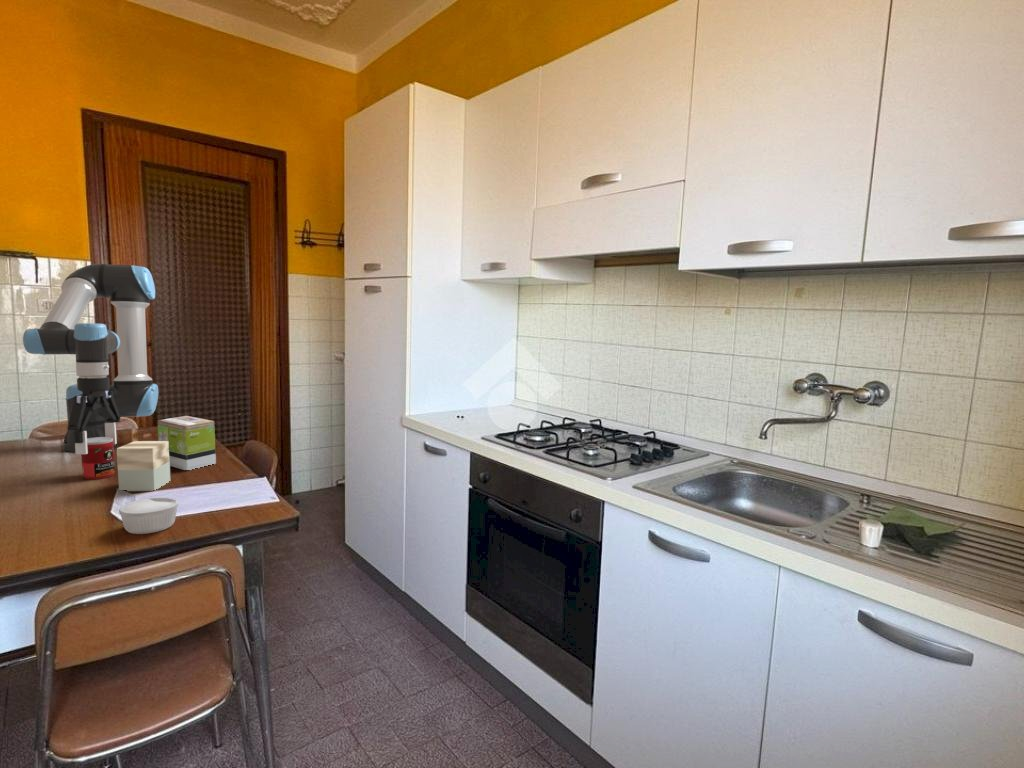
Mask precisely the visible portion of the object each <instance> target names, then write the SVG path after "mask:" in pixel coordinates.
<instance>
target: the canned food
mask: <svg viewBox="0 0 1024 768" xmlns="http://www.w3.org/2000/svg"><path fill="white" fill-rule="evenodd" d="M114 448H115V446H114V444H113V438H111V437H95V438H88V439H87V449H88V454H80V456H81V469H82V470H81V471H82V477H83V478H84V479H85V480H102V479H107V478H108V479H109V478H111V477H113V476H114V475H115V473H116V472H115V471H116V467H115V464H116V463H115V449H114Z"/></svg>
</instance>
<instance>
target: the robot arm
mask: <svg viewBox="0 0 1024 768" xmlns="http://www.w3.org/2000/svg"><path fill="white" fill-rule="evenodd" d="M60 290H61V293H60V294H59V296H58V297H57V299H56V301H55V303H54V304H53V306H52V308H51V309H50V311H49V313H48V315H47V316H46V318H45V320H44V321H43V322H42V324H41V326H40V327H39V328H37V327H34V328H28V329H25V330H24V332H23V336H22V343H23V347H24V350H25V351H26V352H27V353H28V354H31V355H42V356H45V355H75V369H76V371H75V373H76V376H77V377H78V378H76V383H75V384H71V385H69V386H68V387H67V388H66V389H65V390H66V391H65V401H66V403H65V404H66V414H67V415H66V417H67V428H66V429H67V430H66V433H65V436H64V438H63V441H62V450H63V451H64V450H65V452H69V451H70V452H71V453H72V452H73V453H75V455H81V454H88V449H87V439H88V438H95V437H111V438H113V444H114V447H116V446H117V445H118V443H117V442H118V441H117V423H119V422H120V421H121V418H133V417H135V418H140V417H148V416H151V415H153V414H154V412H155V411H156V409H157V405H158V401H159V400H158V399H159V386H158V384H156V383H154V382H153V378H152V377H151V376H149V375H148V359H147V355H148V354H147V352H148V351H147V330H146V329H147V327H146V322H147V321H146V309H147V308H148V307H149V306H151V301H152V300H155V299H156V286H155V282H154V279H153V276H152V273H151V271H150V270H149V269H148V268H147V267H145V266H139V265H134V264H133V265H132V264H129V265H128V264H108V263H107V264H105V263H93V264H89V265H85V266H82V267H80V268H78V269H76V270H75V271H73V272H72V273H70V274H69V275H68V276H67V277H66V278H65V279H64V280H63V282H62V284H61V288H60ZM96 298H106V299H108V298H110V304H112V306H114V307H115V310H116V311H115V314H116V315H115V316H116V332H114V331H112V330H109V329H107V325H106V324H104V323H95V322H94V323H93V322H92V323H88V322H87V323H85V322H84V323H83V322H80V319H81V318H82V316H83V314H84V312H85V311H86V308H87V306H88V305H89V303H92V302H93V301H94V300H95V299H96ZM116 351H117V364H118V365H117V366H118V367H117V368H118V369H117V371H118V375H117V376H116V377H115V378H114V379H113V384H111V382H110V378H109V374H110V372H109V370H110V369H109V368H110V365H109V355H110V354H113V353H114V352H116ZM116 444H117V445H116Z"/></svg>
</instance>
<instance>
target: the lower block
mask: <svg viewBox="0 0 1024 768" xmlns="http://www.w3.org/2000/svg"><path fill="white" fill-rule="evenodd" d="M117 475H118V476H117V477H118V491H119V490H127V491H126V492H154V491H153V490H155V491H157V490H158V489H161V488H162V487H163V486H165V485H167V484H168V483H170V482H171V466H170V462H167V463H166V464H164V465H162V466H160V467H158V468H156V469H154V470H118V469H117ZM169 481H170V482H169ZM166 483H167V484H166ZM161 486H162V487H161ZM156 489H157V490H156Z"/></svg>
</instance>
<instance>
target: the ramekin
mask: <svg viewBox="0 0 1024 768" xmlns="http://www.w3.org/2000/svg"><path fill="white" fill-rule="evenodd" d="M178 508H179V501H178V500H177V499H175V498H169V497H151V498H150V497H149V498H144V499H139V500H134V501H131V502H128V503H125V504H123V505H121V507H119V509H118V513H119V515H120V517H121V521H122V524H123V528H124V529H125V531H127V532H128V533H130V534H134V535H143V534H145V535H147V534H151V533H152V534H153V533H157V532H161V531H164V530H166V529H169V528H170V527H172V526H173V525H174V524H175V521H176V517H177V510H178Z"/></svg>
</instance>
